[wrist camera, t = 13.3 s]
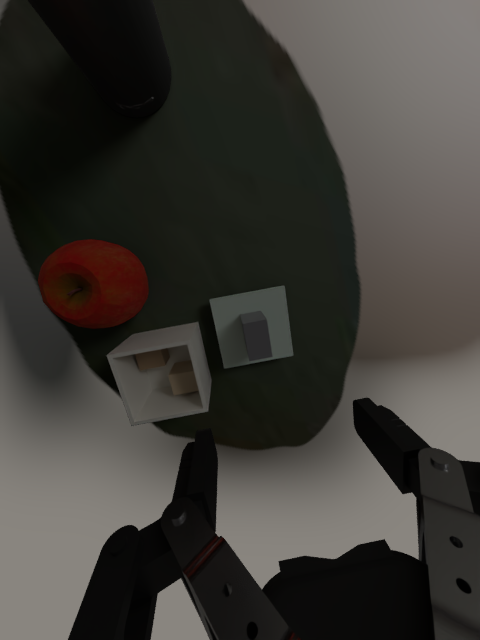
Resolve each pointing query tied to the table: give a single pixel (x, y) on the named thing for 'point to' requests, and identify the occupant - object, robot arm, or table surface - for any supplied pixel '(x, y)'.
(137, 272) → the apple
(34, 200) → the table surface
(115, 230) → the table surface
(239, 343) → the lid
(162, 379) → the storage box
